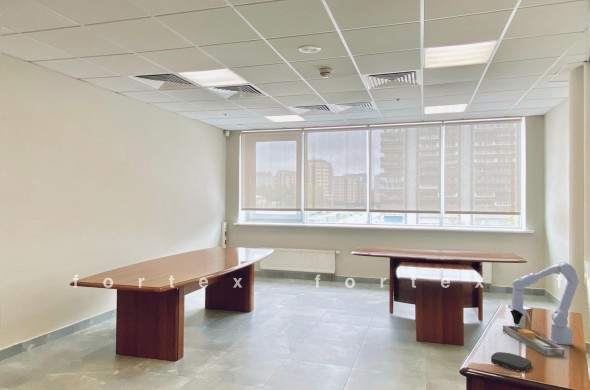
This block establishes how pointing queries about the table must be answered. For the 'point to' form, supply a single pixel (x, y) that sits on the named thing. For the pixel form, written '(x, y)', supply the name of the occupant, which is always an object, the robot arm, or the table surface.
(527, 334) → the orange block
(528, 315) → the small box
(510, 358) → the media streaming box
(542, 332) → the table surface
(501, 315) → the table surface
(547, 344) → the trap lane
